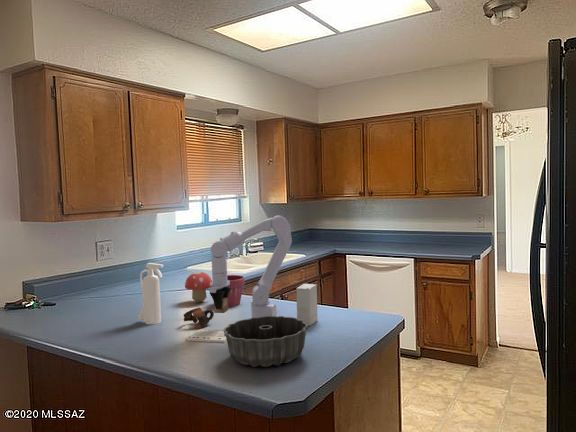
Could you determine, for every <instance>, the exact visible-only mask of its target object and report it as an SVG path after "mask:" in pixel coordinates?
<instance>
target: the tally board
mask: <svg viewBox="0 0 576 432" xmlns="http://www.w3.org/2000/svg"><path fill="white" fill-rule="evenodd" d="M185 341H186V342H205V343H206V342H207V343H221V344H222V343H227V339H226V336H224V330H204V329H203V330H202V329H196V331H195V332H192V334H190V335H188V336H187V337H186V338H185Z"/></svg>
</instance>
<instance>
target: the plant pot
mask: <svg viewBox="0 0 576 432" xmlns="http://www.w3.org/2000/svg"><path fill="white" fill-rule="evenodd" d="M227 280H230V285H228V286H227V287H231V290H230V292H229V295H228V299H227V301H228V307H235V306H238V305H241V301H242V295H243V294H242V293H243V289H244V286H245V284H246V283H245V282H246V281H245V276H243V275H238V274H229V275H228V274H227Z"/></svg>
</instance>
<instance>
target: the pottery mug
mask: <svg viewBox="0 0 576 432" xmlns="http://www.w3.org/2000/svg"><path fill="white" fill-rule="evenodd" d="M208 315H209V317H208ZM214 316H215V313H214V310H212V309H206V310H203V309H202V307H196V308H193V309H190V310H189V311H185V313H183V317H184V318H183V322H193V323H194V324H193V325H194V327H195V330H200V329H201V328H205V327H208V325H209V323H210V321H211V320H212V319H213V318H214Z"/></svg>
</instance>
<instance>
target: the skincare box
mask: <svg viewBox="0 0 576 432" xmlns="http://www.w3.org/2000/svg"><path fill="white" fill-rule="evenodd" d="M317 287H318V285H317V284H313V283H302V284H301V285H300V286H298V287H296V318H297V319H299V320H303V321H304V323H306V324H307V325H308V326H309V327H310V326H312V325H313V324H315V323H316V322H317V321H318V320H319V319H318V288H317Z"/></svg>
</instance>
